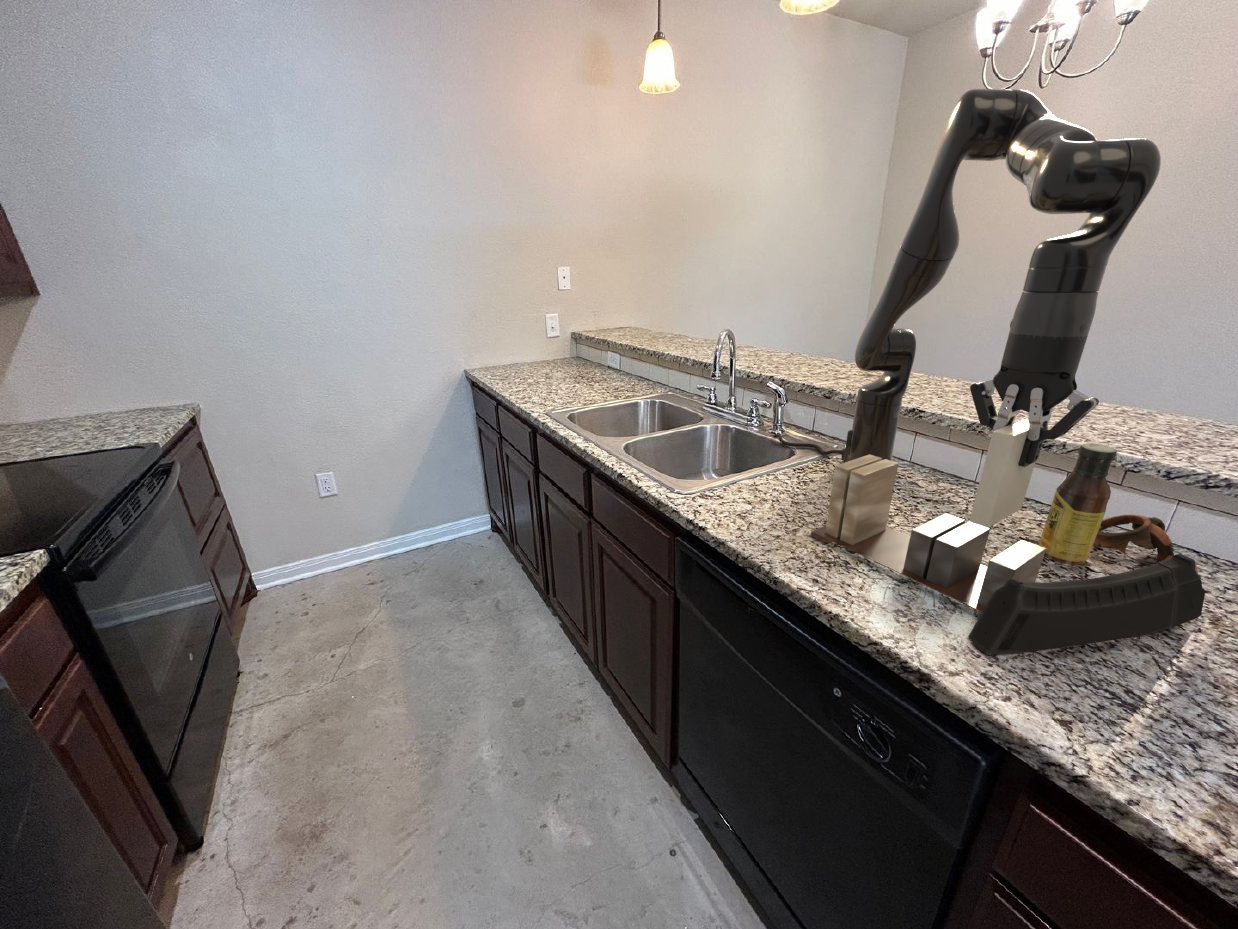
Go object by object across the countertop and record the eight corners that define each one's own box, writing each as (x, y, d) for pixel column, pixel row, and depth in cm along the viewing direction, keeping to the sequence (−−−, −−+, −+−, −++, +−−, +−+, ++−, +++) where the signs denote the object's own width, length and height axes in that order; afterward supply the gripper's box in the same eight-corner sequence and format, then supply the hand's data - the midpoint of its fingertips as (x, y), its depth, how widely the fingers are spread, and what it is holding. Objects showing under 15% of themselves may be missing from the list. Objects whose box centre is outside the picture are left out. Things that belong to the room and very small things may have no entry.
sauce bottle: (1038, 546, 86) (1073, 436, 79) (1086, 560, 82) (1128, 445, 74) (1032, 561, 81) (1068, 446, 74) (1082, 576, 77) (1126, 456, 70)
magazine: (986, 605, 57) (1222, 514, 58) (963, 588, 60) (1188, 503, 61) (989, 708, 63) (1201, 625, 64) (968, 688, 66) (1172, 609, 67)
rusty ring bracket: (1168, 585, 75) (1146, 537, 75) (1091, 580, 84) (1071, 537, 84) (1199, 546, 80) (1178, 501, 79) (1123, 545, 89) (1104, 504, 88)
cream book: (969, 521, 69) (992, 431, 64) (1002, 503, 74) (1026, 418, 69) (988, 528, 67) (1014, 435, 62) (1021, 509, 72) (1047, 422, 67)
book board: (810, 536, 91) (820, 464, 86) (854, 517, 97) (865, 450, 92) (1007, 630, 66) (1036, 537, 61) (1047, 597, 72) (1077, 511, 67)
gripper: (1135, 333, 57) (1086, 471, 64) (997, 324, 68) (968, 443, 75) (1112, 338, 54) (1063, 485, 60) (971, 328, 65) (942, 453, 71)
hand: (1010, 461), depth 67 cm, fingers closed on cream book, 2 cm apart
